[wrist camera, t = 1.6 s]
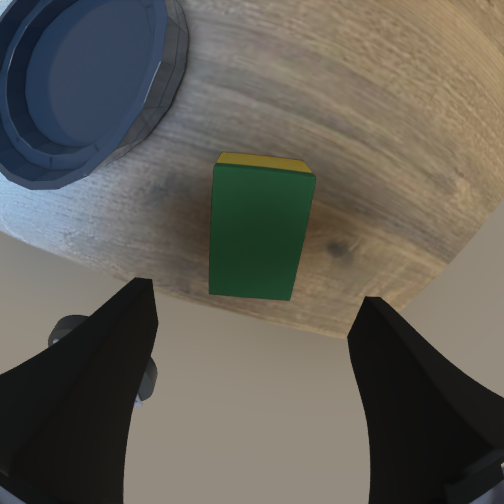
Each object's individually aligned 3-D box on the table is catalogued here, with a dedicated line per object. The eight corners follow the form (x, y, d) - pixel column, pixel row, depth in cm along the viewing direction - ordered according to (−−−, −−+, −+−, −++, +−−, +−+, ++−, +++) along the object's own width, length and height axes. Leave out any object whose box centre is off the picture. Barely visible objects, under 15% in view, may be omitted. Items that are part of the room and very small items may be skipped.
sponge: (284, 266, 18) (290, 301, 15) (215, 260, 18) (208, 294, 15) (303, 160, 15) (316, 177, 12) (222, 151, 14) (213, 165, 11)
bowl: (181, 166, 15) (156, 191, 11) (21, 170, 14) (-19, 193, 10) (204, -37, 8) (189, -74, 4) (30, 8, 8) (-10, 3, 4)
